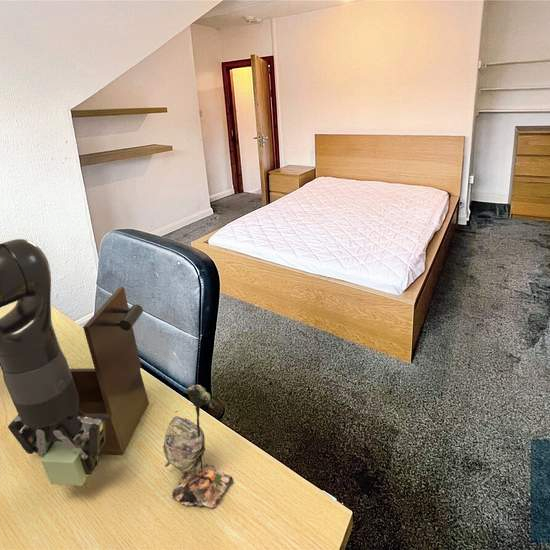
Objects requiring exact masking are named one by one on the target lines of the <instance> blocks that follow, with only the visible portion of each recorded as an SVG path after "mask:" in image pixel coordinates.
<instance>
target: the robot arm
mask: <svg viewBox="0 0 550 550" xmlns="http://www.w3.org/2000/svg"><path fill="white" fill-rule="evenodd" d="M51 295H52V274H51V268H50V262H49V260H48V258H47V255H46V254H45V253H44V251H43V250H42V249H41V248H40V247H39V246H38V245H37V244H35V243H34V242H33V241H31V240H28V239H24V238H17V239H12V240H8V241H4V242H1V243H0V308H3V307H5V306H8V305H10V304H13V303H15V302H16V303H15V306H14V307H13V308H11V310H10V311H9V312H7V313H6V314H5V315H3V316H1V317H0V369H1V372H2V376H3V381H4V385H5V386H6V389H7V391H8V394H9V396H10V398H11V401H12V404H13V405H14V407H15V411H16V412H17V415H16V416H15V417H14V418H13V419H12V421H11V422H10V423H9V425H7V427H8V430H9V431H10V433H11V434H12V435H13V437H14V438H15V439H16V441H17V442H18V443H19V445H20V446H21V447H22V448H23V449H24V451H25V452H26V453H27V454H29V455H32V454H34V453H35V452H37V456H39V457H40V458H42V459H43V458H44V457H45V455H46V454H47V452H48V451H49V450H50V448H51V447H52V445H53V444H54V443H55V442H56V441H59V442H63V443H64V444H65V445H66V446H67V448H68V449H69V450H71V451H72V450H74V451H75V452H76V453H77V454H78V455H79V457H80V460H81V463H82V465H83V468H84V471H85V473H86V475H88V476H91V475H93V473H94V472H95V470H96V469H97V467H98V465H99V462H100V461H99V456H98V455H100V454H99V452H100V450H101V449H102V447H103V445H104V443H105V417H104V416H102V415H98V416H97V417H96V419H93V418H88V417H86V416H85V414H84V413H83V412H82V411H81V409H80V408H79V395H78V392H77V389H76V386H75V383H74V380H73V377H72V374H71V371H70V365H69V362H68V360H67V357H66V356H65V354H64V352H63V351H62V348H61V346H60V342H59V340H58V337H57V335H56V331H55V328H54V326H53V322H52V321H53V320H52V303H51V302H52V299H51V297H52V296H51ZM77 433H78V434H77ZM76 435H77V436H76ZM30 436H31V438H32V439H33V441H32V442H31V443H30V441H29V437H30ZM75 436H76V437H75ZM74 438H75V439H74ZM73 439H74V440H73ZM82 442H83V443H84V444H85V447H84V448H83V446H82ZM97 456H98V458H97Z"/></svg>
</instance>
